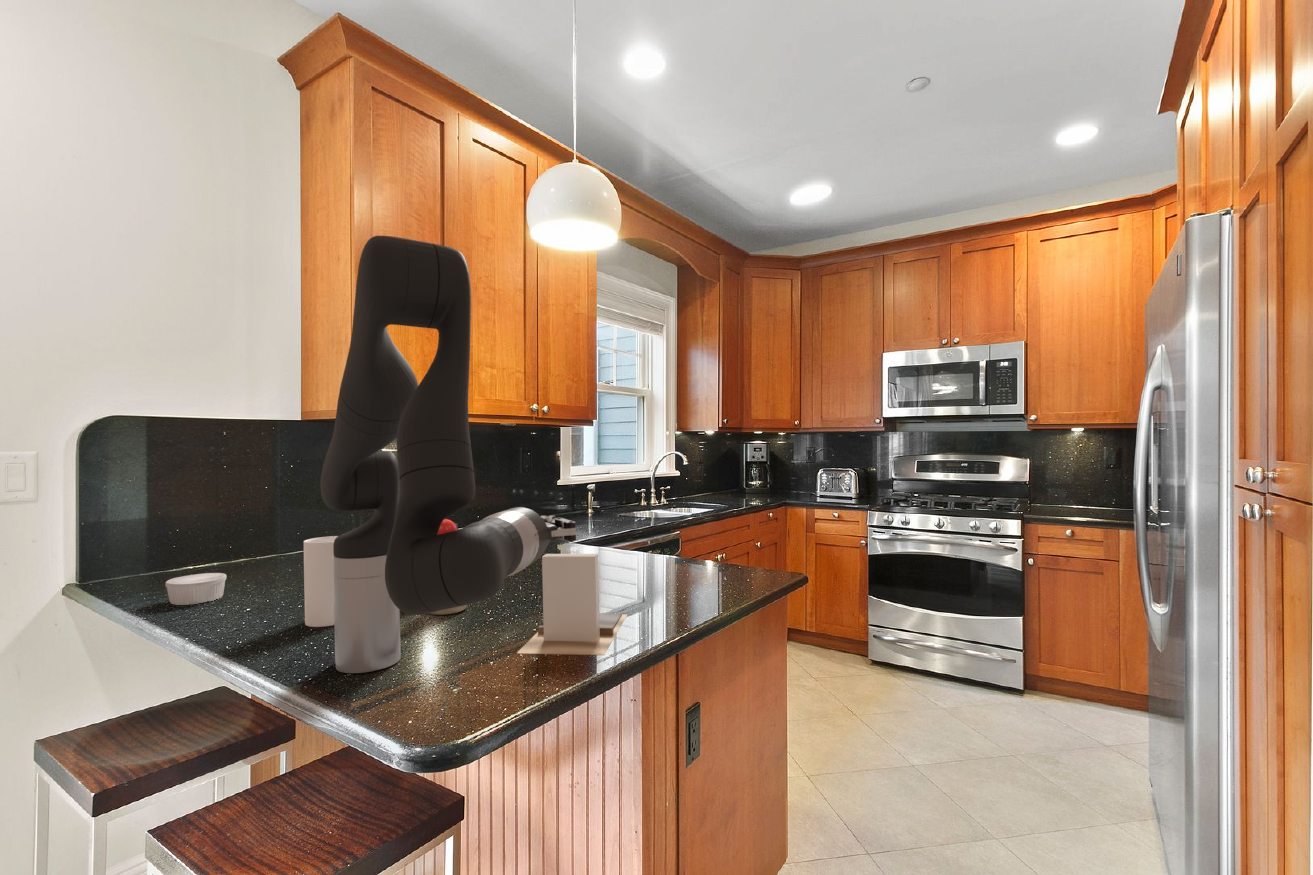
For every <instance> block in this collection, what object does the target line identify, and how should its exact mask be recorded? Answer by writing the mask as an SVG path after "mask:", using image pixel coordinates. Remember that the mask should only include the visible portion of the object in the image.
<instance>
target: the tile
mask: <svg viewBox="0 0 1313 875" xmlns="http://www.w3.org/2000/svg"><path fill="white" fill-rule="evenodd" d="M541 565H542V566H541V567H542V568H541V573H542V576H541V577H542V608H543V609H542V610H543V612H542V614H543V615H542V616H543V617H542V620H543V626H544V641H598V639H599V638H600V617H599V613H600V586H599V585H600V580H599V579H600V576H599V553H545V554H544V555H542V556H541Z"/></svg>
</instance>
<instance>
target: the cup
mask: <svg viewBox="0 0 1313 875" xmlns="http://www.w3.org/2000/svg"><path fill="white" fill-rule="evenodd" d="M338 536H339V535H331V536H321V537H320V536H319V537H313V538H309V539H305V540H303V580H304V581H303V583H304V585H303V586H304V587H303V588H304V592H303V594H304V625H305V626H307V627H310V628H311V627H312V628H320V627H321V628H323V627H330V626H334V604H335V598H334V554H333V544H334V540H335V539H336V538H337V537H338Z"/></svg>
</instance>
